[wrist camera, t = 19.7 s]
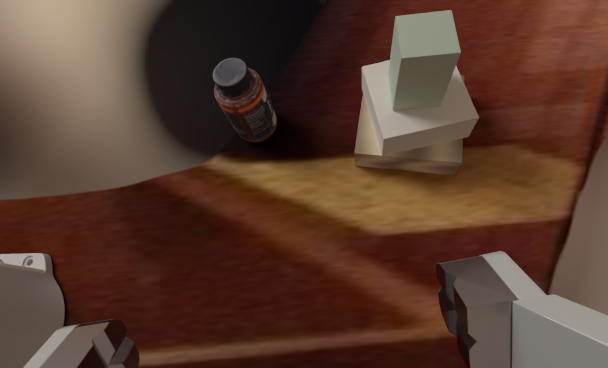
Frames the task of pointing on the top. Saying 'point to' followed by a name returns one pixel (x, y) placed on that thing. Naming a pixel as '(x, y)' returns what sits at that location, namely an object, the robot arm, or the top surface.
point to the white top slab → (416, 114)
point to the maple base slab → (405, 152)
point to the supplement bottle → (244, 100)
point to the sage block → (422, 59)
